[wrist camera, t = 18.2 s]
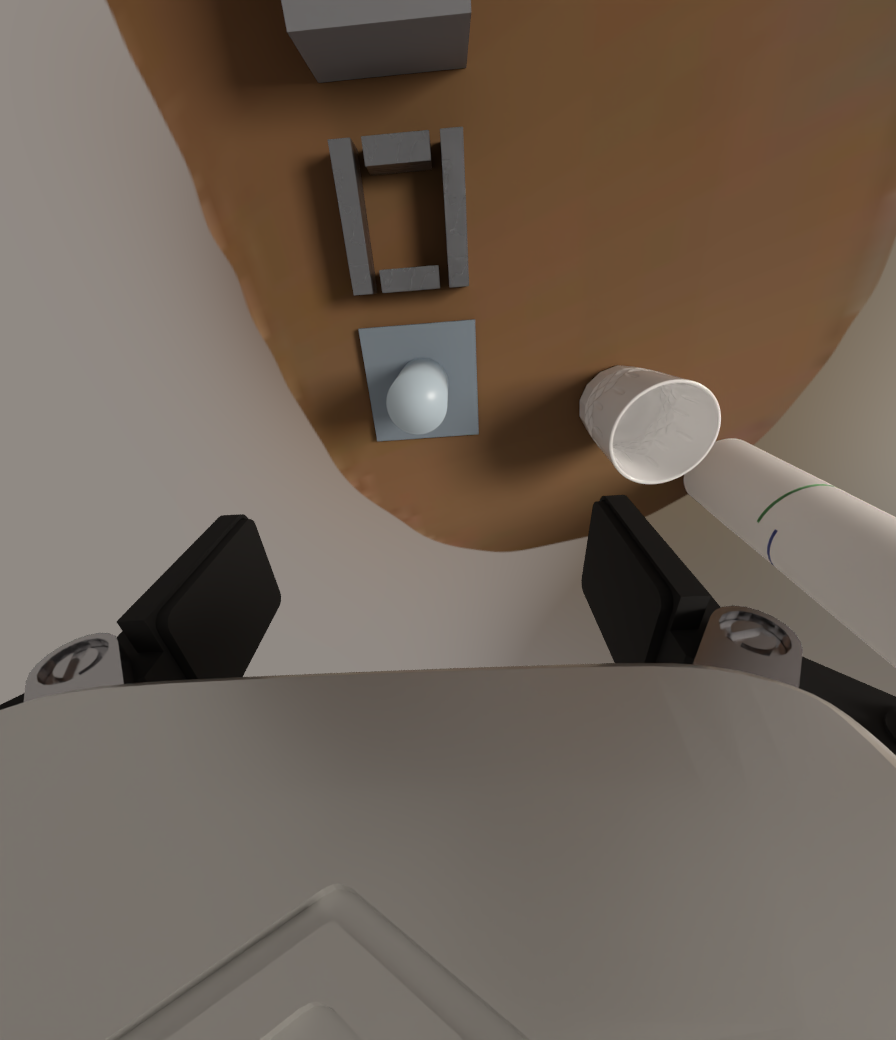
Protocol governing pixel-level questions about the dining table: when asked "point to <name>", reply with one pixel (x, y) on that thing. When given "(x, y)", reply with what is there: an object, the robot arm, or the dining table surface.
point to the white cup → (650, 422)
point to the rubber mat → (429, 340)
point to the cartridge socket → (393, 158)
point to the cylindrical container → (807, 534)
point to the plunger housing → (378, 36)
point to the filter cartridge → (418, 396)
